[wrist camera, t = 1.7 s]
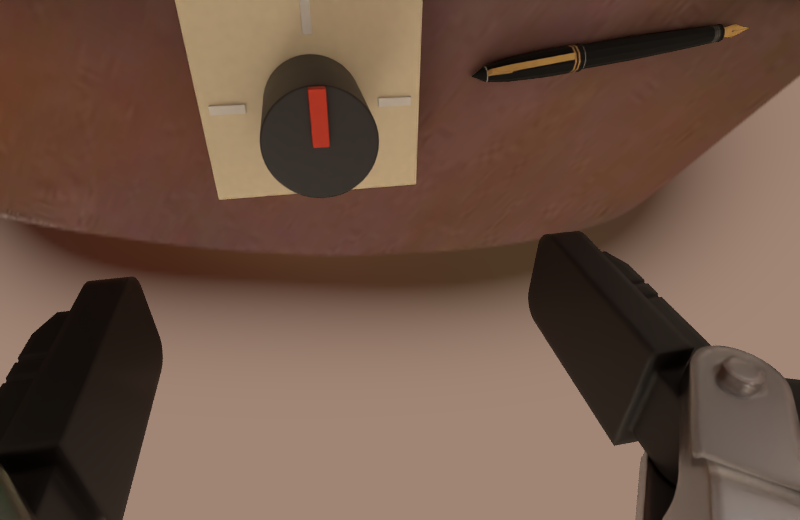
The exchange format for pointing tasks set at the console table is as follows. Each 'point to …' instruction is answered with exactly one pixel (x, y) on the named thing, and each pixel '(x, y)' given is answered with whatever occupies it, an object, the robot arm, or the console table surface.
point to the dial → (316, 127)
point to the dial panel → (286, 38)
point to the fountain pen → (600, 53)
